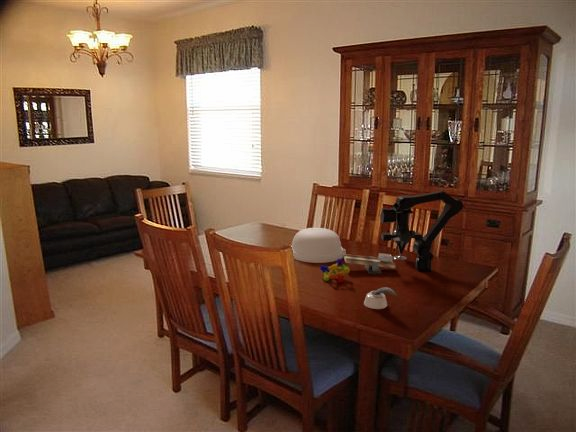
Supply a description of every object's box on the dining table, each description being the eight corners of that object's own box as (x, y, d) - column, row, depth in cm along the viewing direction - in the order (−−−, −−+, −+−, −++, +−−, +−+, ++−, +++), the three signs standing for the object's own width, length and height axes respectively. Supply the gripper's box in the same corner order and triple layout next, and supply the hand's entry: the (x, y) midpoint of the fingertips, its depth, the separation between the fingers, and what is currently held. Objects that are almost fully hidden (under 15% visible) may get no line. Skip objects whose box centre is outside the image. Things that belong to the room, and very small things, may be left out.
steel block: (389, 261, 224) (390, 254, 224) (391, 264, 220) (393, 257, 219) (377, 259, 224) (378, 253, 224) (379, 262, 220) (380, 255, 219)
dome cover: (347, 248, 260) (348, 224, 257) (344, 264, 231) (344, 238, 228) (292, 245, 266) (292, 222, 263) (282, 261, 237) (282, 234, 234)
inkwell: (377, 298, 188) (378, 275, 186) (407, 315, 172) (409, 290, 170) (359, 302, 184) (360, 279, 182) (388, 319, 168) (389, 294, 166)
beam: (391, 265, 226) (392, 259, 226) (394, 269, 219) (395, 263, 219) (343, 259, 226) (344, 253, 225) (345, 264, 219) (346, 258, 218)
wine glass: (391, 259, 240) (392, 231, 237) (393, 255, 248) (395, 228, 245) (406, 260, 238) (408, 232, 234) (408, 256, 245) (410, 229, 242)
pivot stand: (376, 266, 228) (377, 255, 227) (381, 273, 218) (381, 262, 216) (364, 266, 228) (365, 255, 227) (368, 273, 218) (369, 262, 216)
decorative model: (323, 277, 200) (317, 259, 213) (327, 293, 204) (321, 274, 218) (352, 270, 200) (344, 252, 213) (355, 286, 204) (347, 267, 217)
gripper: (386, 226, 210) (385, 258, 213) (426, 226, 210) (424, 258, 213) (381, 221, 221) (380, 252, 224) (420, 220, 221) (418, 251, 224)
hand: (400, 253), depth 221 cm, fingers closed
